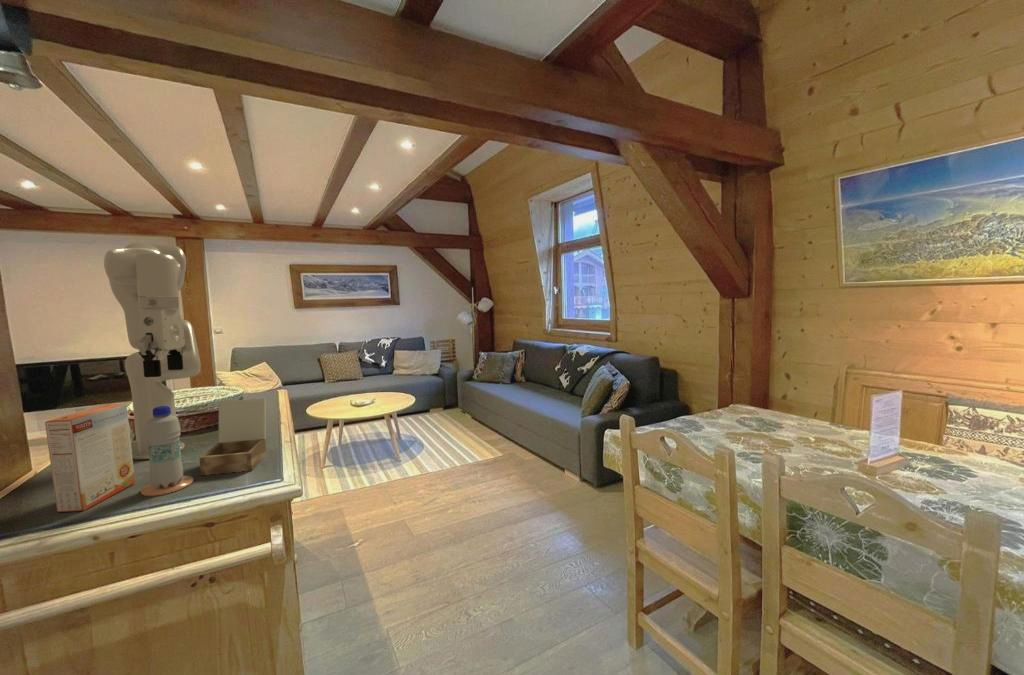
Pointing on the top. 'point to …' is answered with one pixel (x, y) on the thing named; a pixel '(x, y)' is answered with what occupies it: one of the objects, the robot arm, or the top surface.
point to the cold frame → (233, 457)
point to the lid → (241, 420)
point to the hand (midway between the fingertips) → (164, 373)
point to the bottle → (164, 448)
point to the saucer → (152, 491)
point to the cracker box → (90, 456)
